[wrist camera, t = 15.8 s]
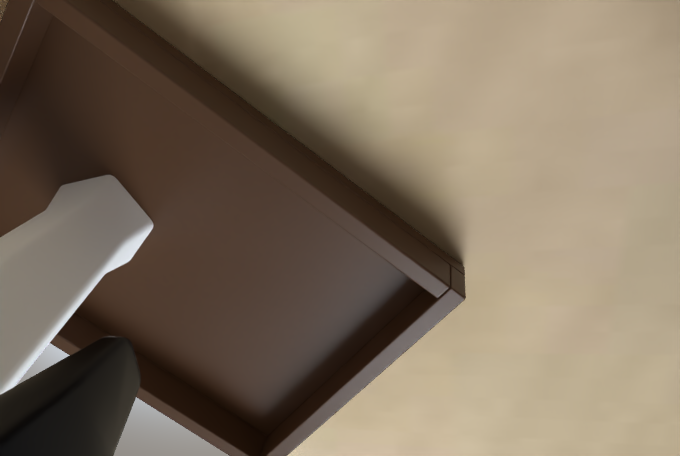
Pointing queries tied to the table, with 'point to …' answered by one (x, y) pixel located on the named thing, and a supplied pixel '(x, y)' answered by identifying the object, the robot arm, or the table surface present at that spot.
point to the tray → (211, 231)
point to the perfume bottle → (61, 265)
